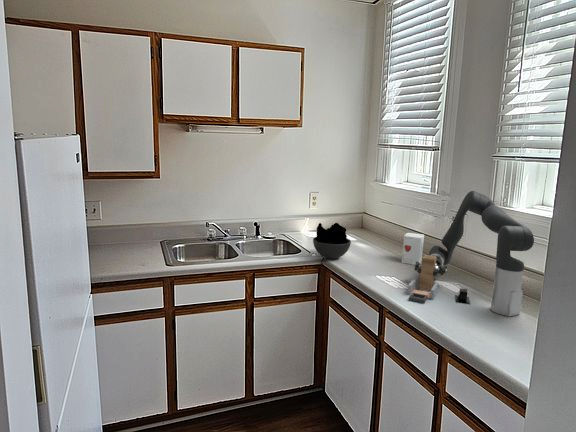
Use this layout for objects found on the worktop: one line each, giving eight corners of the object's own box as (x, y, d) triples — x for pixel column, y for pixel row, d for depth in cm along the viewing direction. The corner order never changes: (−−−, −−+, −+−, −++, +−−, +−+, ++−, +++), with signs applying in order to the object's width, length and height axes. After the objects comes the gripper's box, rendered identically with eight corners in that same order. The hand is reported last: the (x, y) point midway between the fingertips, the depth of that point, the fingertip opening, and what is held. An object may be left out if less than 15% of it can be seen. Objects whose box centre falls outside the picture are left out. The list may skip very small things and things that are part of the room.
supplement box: (400, 262, 222) (403, 235, 219) (404, 258, 230) (407, 232, 227) (418, 265, 218) (421, 237, 215) (421, 261, 225) (424, 234, 223)
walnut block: (421, 285, 188) (424, 254, 186) (433, 287, 186) (436, 256, 183) (419, 288, 184) (422, 257, 181) (431, 290, 182) (434, 259, 179)
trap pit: (412, 295, 175) (412, 292, 174) (427, 298, 172) (427, 295, 172) (408, 300, 170) (409, 296, 169) (424, 303, 167) (424, 300, 166)
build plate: (472, 307, 166) (474, 296, 165) (452, 304, 168) (454, 293, 168) (470, 296, 178) (471, 286, 177) (451, 294, 180) (453, 284, 179)
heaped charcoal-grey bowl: (355, 257, 229) (357, 223, 226) (340, 266, 212) (342, 229, 209) (322, 251, 239) (323, 218, 236) (305, 259, 222) (307, 224, 219)
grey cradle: (412, 288, 184) (413, 279, 183) (437, 293, 179) (438, 284, 178) (407, 294, 176) (408, 285, 175) (433, 299, 171) (434, 290, 171)
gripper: (419, 252, 199) (410, 261, 184) (451, 257, 192) (445, 267, 177) (417, 268, 200) (409, 277, 185) (449, 273, 193) (443, 284, 179)
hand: (426, 272), depth 181 cm, fingers open, 5 cm apart
